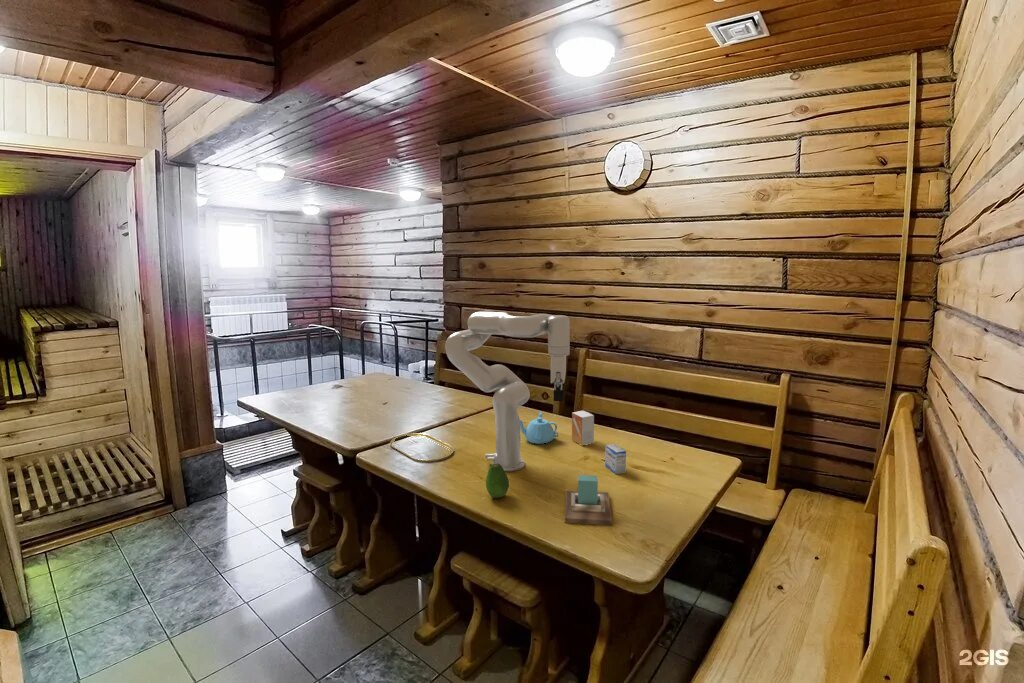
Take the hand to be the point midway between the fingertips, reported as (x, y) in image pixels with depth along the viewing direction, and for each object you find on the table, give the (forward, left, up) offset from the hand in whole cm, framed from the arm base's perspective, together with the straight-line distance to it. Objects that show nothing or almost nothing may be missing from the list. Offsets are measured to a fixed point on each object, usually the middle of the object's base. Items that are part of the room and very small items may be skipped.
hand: (558, 397), depth 174 cm
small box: (+9, +35, -31) cm, 47 cm away
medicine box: (+21, +8, -31) cm, 38 cm away
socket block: (+10, -23, -30) cm, 39 cm away
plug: (+10, -23, -29) cm, 38 cm away
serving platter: (-60, +22, -31) cm, 71 cm away
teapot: (-11, +36, -31) cm, 49 cm away
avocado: (-20, -18, -31) cm, 41 cm away
